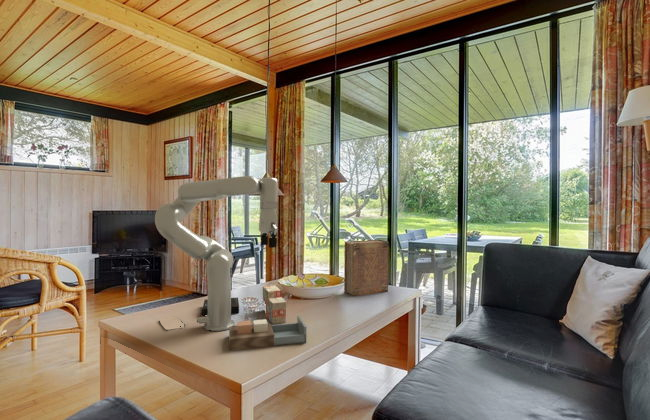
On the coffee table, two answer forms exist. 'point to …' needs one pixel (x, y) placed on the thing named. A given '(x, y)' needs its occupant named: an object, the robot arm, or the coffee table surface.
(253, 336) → the walnut board
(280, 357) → the coffee table surface
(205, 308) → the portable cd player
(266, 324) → the cream tile
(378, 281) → the book
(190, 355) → the coffee table surface
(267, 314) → the stack of blocks
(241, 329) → the terracotta tile
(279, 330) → the box
